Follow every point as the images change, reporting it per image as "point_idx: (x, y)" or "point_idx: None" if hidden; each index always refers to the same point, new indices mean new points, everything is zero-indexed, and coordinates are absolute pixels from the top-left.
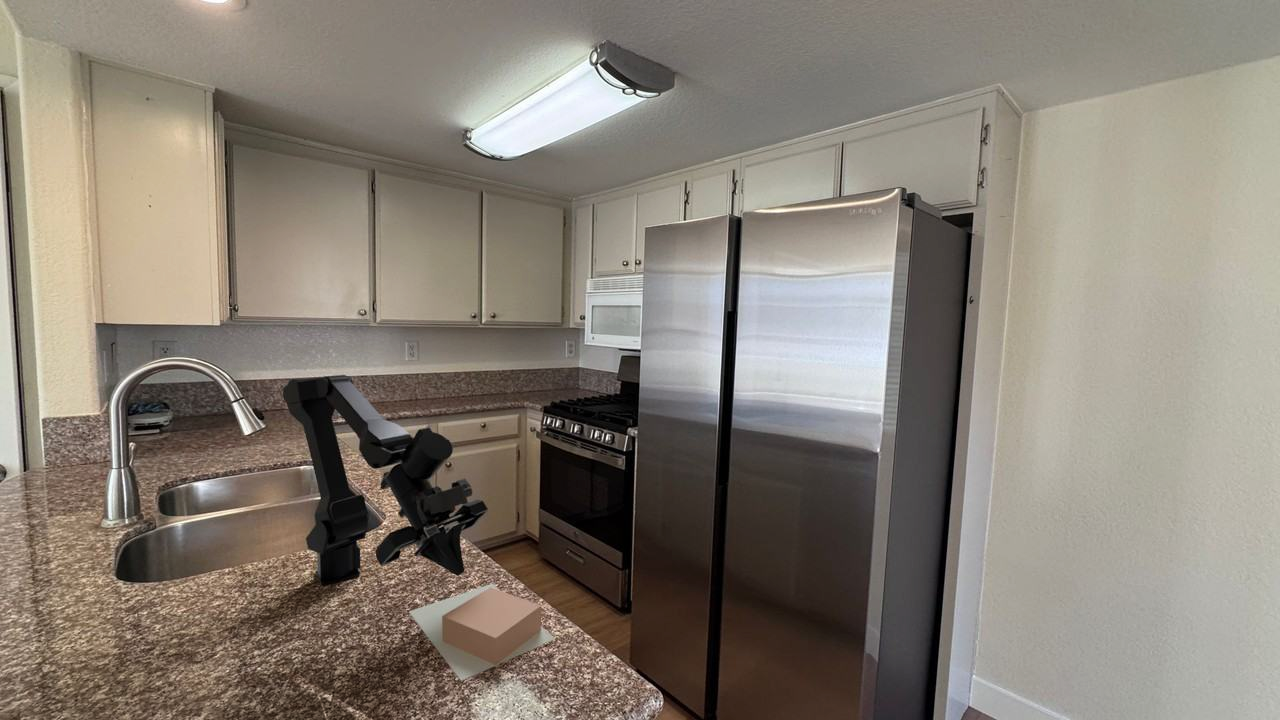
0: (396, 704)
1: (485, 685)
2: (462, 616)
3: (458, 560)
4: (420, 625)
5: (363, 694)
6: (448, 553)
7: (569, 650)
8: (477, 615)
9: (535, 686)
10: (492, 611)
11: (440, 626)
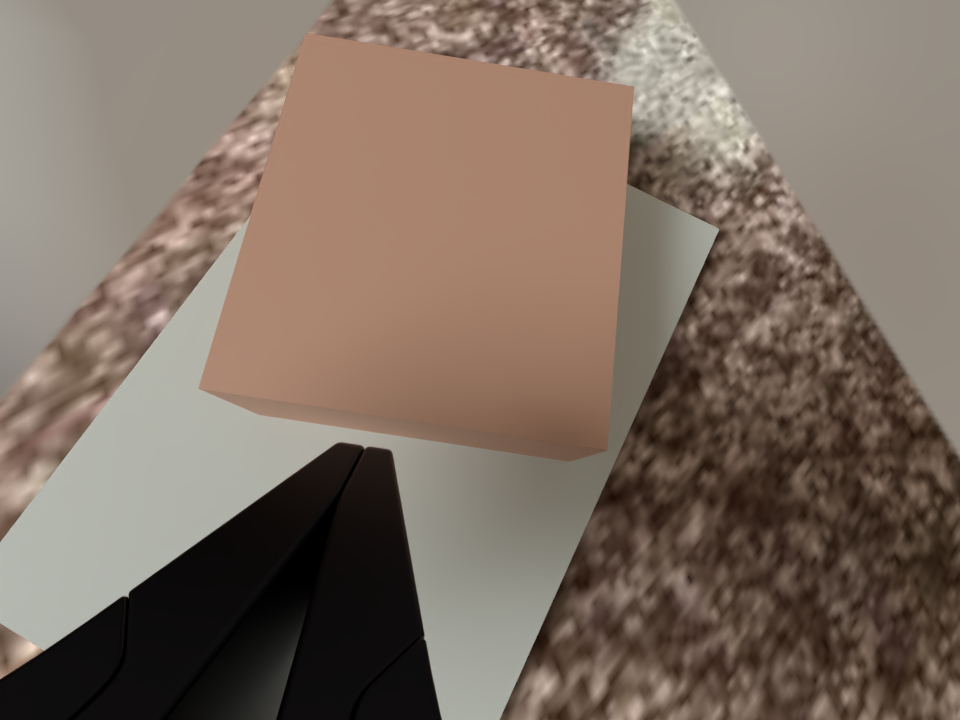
0: (884, 376)
1: (668, 170)
2: (560, 334)
3: (314, 520)
4: (511, 678)
5: (926, 533)
6: (389, 668)
7: (396, 19)
8: (515, 267)
9: (599, 40)
10: (448, 218)
11: (478, 560)
